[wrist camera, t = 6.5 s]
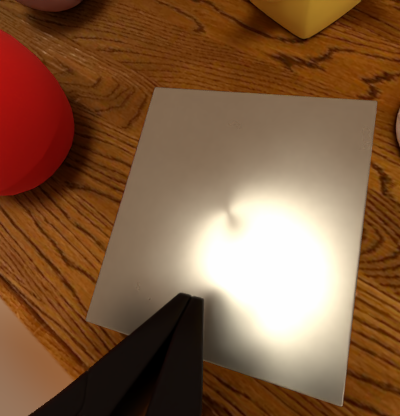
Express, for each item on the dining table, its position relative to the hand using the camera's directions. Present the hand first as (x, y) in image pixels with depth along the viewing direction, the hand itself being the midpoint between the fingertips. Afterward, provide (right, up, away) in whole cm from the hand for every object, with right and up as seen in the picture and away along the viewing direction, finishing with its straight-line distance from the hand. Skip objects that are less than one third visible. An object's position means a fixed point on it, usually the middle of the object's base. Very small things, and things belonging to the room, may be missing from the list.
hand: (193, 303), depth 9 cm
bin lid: (+2, +3, +5) cm, 6 cm away
